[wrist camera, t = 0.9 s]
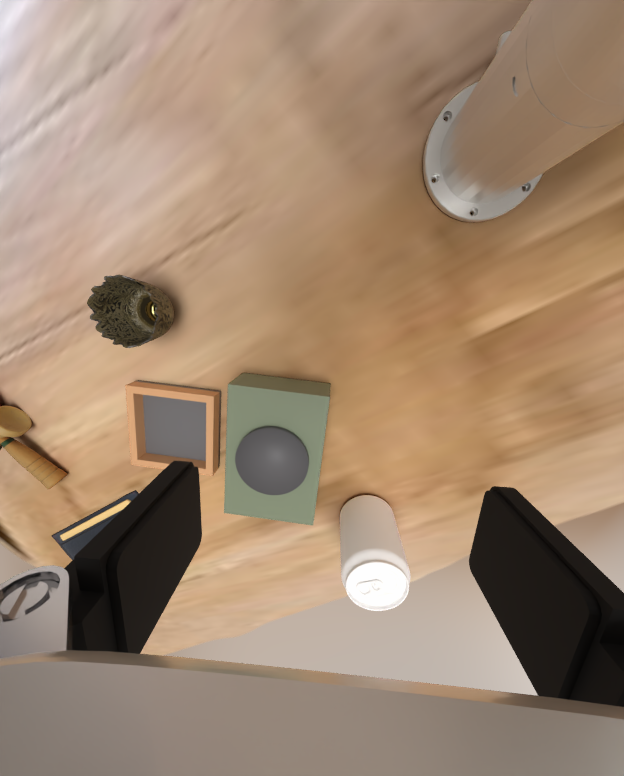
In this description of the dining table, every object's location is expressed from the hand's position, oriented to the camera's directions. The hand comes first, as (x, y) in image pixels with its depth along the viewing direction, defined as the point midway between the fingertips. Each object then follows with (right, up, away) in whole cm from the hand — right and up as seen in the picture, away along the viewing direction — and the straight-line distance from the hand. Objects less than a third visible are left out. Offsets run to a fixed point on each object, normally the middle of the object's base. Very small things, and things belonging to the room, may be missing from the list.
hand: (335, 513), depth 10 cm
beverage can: (+8, -15, +36) cm, 40 cm away
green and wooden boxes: (-13, -2, +33) cm, 36 cm away
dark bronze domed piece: (-20, +14, +29) cm, 38 cm away
